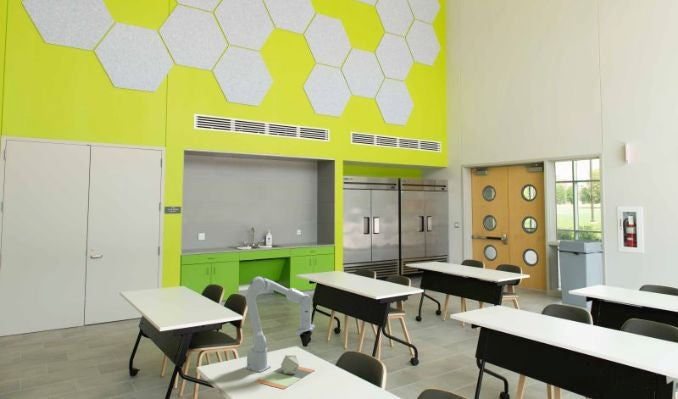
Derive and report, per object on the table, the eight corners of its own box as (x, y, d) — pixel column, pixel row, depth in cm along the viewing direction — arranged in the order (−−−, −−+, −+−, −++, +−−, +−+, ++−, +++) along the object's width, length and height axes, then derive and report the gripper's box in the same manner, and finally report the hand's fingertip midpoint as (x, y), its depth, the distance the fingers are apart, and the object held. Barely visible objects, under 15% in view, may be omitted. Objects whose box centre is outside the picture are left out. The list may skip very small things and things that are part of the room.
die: (291, 379, 189) (303, 360, 192) (275, 368, 190) (287, 350, 194) (292, 379, 196) (304, 360, 199) (277, 368, 198) (289, 350, 201)
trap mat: (254, 381, 185) (254, 381, 185) (287, 364, 206) (287, 363, 206) (283, 389, 177) (283, 388, 177) (314, 370, 199) (314, 370, 199)
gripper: (304, 323, 198) (303, 351, 198) (319, 316, 211) (319, 343, 210) (292, 321, 202) (291, 349, 201) (308, 315, 214) (307, 341, 214)
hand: (305, 346), depth 206 cm, fingers closed
